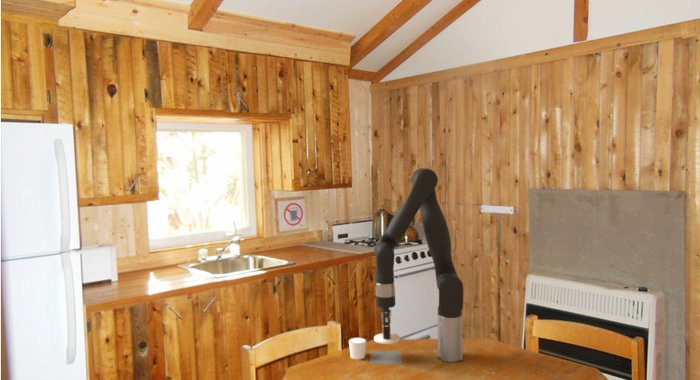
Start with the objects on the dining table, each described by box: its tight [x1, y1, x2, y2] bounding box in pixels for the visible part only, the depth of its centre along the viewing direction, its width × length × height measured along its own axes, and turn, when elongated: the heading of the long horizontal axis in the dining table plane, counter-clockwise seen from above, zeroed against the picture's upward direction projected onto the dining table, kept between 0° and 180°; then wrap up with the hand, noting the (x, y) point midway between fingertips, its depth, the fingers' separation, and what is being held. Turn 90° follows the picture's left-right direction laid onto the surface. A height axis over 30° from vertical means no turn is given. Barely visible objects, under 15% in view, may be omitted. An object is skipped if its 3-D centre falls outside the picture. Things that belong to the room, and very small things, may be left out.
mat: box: [369, 351, 403, 365], centre depth 197 cm, size 12×12×1 cm
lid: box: [373, 324, 401, 345], centre depth 196 cm, size 10×10×5 cm
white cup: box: [348, 337, 367, 360], centre depth 198 cm, size 7×7×7 cm
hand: (386, 337), depth 196 cm, fingers closed on lid, 3 cm apart
